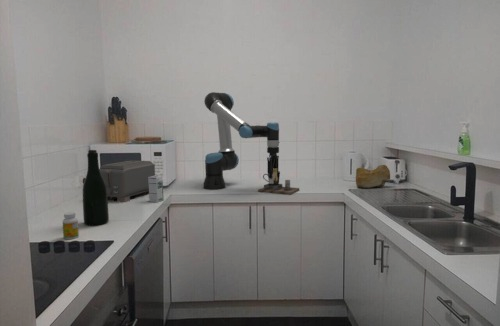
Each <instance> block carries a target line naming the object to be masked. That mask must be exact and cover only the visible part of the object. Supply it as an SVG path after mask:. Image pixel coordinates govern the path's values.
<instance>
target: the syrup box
mask: <svg viewBox="0 0 500 326" xmlns="http://www.w3.org/2000/svg"><path fill="white" fill-rule="evenodd" d="M163 181H164V180H163V176H162V175H159V174H158V175H156V174H155V176H151V177H148V182H149V193H148V194H149V198H148V199H149V202H151V203H159V202H162V201H164V199H165V198H164V184H163Z"/></svg>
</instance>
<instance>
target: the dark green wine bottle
mask: <svg viewBox="0 0 500 326" xmlns="http://www.w3.org/2000/svg"><path fill="white" fill-rule="evenodd" d="M87 152H88V153H87V154H86V155H87V157H86V158H87V171H86V175H85V178H84V182H83V184H82V213H83V214H82V216H83V223H84V225H86V226H100V225H104V224H107V223H108V222H109V220H110V217H109V202H108V201H109V200H108V199H107V189H106V184H105V182H104V180H103V177H102V175H101V173H100V170H99V169H100V165H99V153H98V152H97V149H89V150H87Z"/></svg>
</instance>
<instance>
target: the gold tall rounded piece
mask: <svg viewBox="0 0 500 326" xmlns="http://www.w3.org/2000/svg"><path fill="white" fill-rule="evenodd" d="M273 173H274V184H277V168H273ZM268 183H269V182H268ZM269 184H270V183H269ZM274 184H272V185H274Z"/></svg>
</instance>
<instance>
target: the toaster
mask: <svg viewBox="0 0 500 326" xmlns="http://www.w3.org/2000/svg"><path fill="white" fill-rule="evenodd" d="M155 166H156V164H155V163H153V162H152V160H151V161H150V160H127V161H121V162H115V163H106V164H102V165H101V166H99V170H100V173H101V175H102V177H103V180H104V182H105V184H106V189H107V199H108V201H109V200H111V199H112V198H117V202H118V203H128V202H130V201H131V199H130V197H133V196H137V195H140V194H143V193H147V194H149V182H148V177H151V176H155V175H156V169H155Z"/></svg>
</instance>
